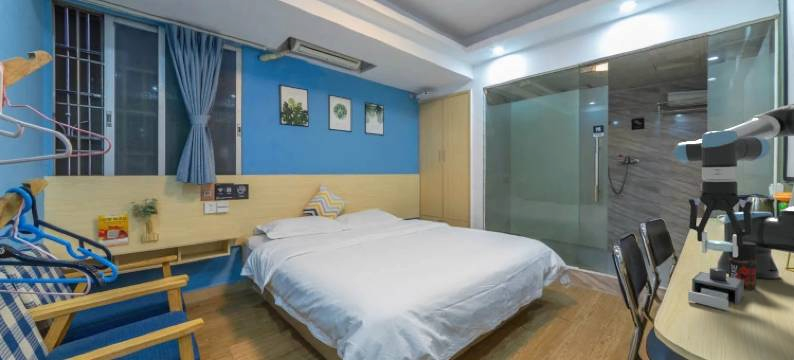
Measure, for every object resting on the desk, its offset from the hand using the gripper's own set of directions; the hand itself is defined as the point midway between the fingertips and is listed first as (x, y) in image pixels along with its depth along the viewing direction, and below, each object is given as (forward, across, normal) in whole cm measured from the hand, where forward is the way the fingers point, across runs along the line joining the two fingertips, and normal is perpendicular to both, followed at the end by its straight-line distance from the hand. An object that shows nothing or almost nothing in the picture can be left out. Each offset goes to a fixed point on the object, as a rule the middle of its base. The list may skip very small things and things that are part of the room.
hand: (719, 253), depth 94 cm
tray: (+13, 0, -9) cm, 15 cm away
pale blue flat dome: (-2, 0, 0) cm, 2 cm away
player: (+13, 0, -1) cm, 13 cm away
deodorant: (+13, +3, +14) cm, 20 cm away
